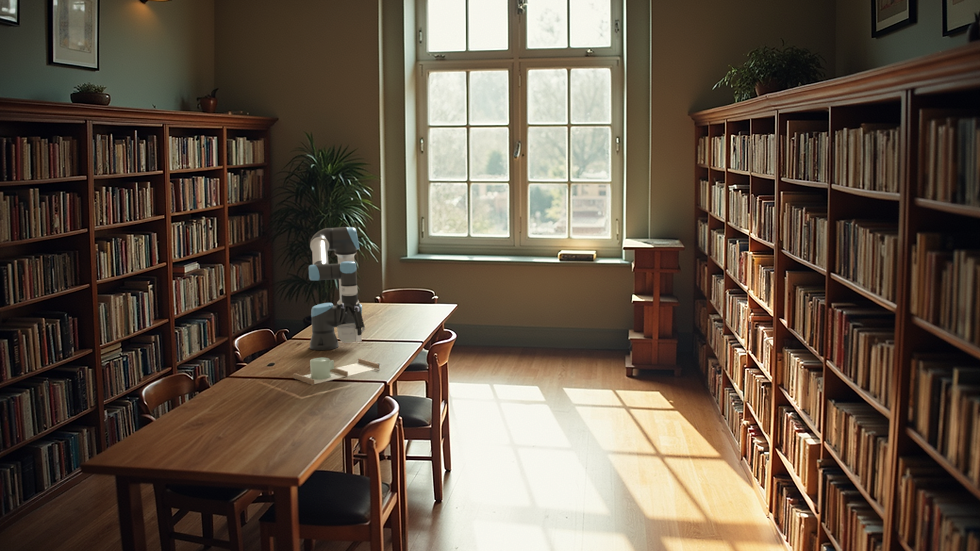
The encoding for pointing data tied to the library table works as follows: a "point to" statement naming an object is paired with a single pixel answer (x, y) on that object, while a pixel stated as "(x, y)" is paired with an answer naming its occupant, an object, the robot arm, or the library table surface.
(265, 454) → the library table surface
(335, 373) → the beige tray
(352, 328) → the teacup
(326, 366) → the pale green cup
